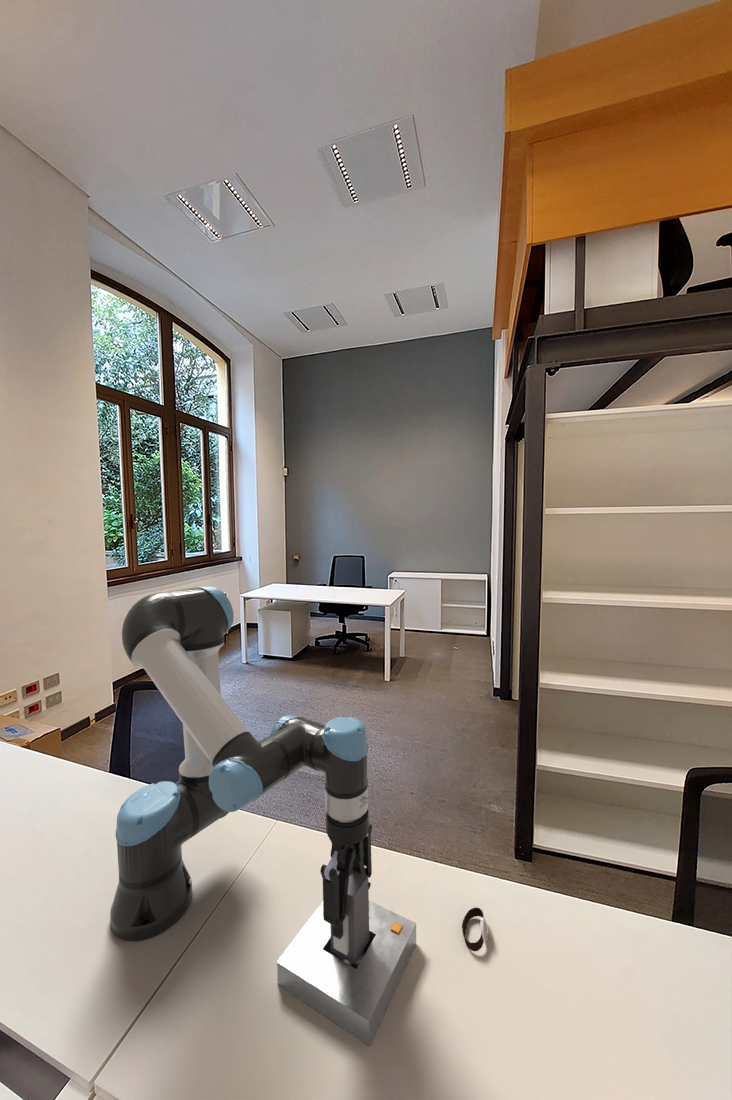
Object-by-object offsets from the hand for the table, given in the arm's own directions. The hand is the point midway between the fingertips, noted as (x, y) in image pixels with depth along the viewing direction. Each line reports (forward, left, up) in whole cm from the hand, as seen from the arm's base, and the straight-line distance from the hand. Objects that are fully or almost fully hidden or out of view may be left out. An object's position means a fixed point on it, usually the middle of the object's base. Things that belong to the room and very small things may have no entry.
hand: (350, 935), depth 76 cm
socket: (0, 0, -5) cm, 5 cm away
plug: (0, 0, -2) cm, 2 cm away
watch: (+18, +16, -6) cm, 25 cm away
